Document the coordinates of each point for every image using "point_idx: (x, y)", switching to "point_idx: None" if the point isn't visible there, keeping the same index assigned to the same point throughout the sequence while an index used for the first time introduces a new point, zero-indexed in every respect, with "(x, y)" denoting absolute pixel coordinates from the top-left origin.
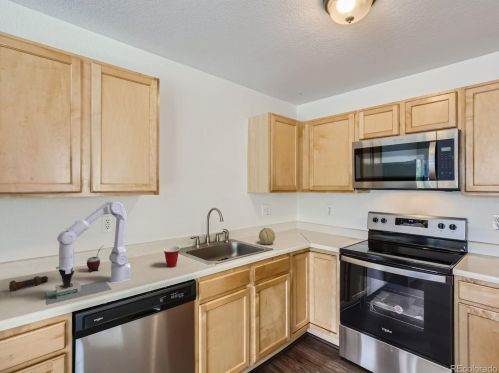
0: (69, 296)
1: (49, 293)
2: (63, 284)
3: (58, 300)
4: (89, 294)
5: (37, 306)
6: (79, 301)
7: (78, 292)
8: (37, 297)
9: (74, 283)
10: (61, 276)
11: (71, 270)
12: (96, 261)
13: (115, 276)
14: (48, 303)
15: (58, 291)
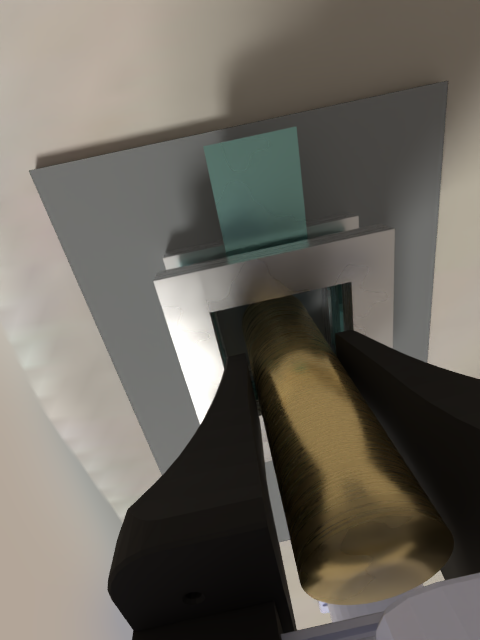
0: None
1: (216, 178)
2: (273, 351)
3: (120, 273)
4: (163, 468)
5: (53, 68)
6: (64, 418)
7: None
8: (370, 11)
9: None
10: (162, 477)
11: (443, 573)
12: None
13: (342, 610)
14: (65, 188)
15: (161, 294)
